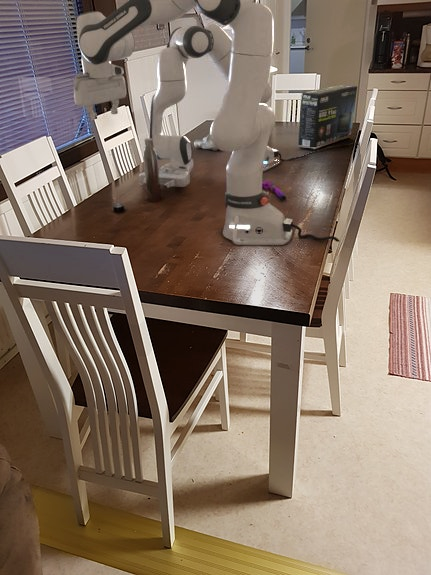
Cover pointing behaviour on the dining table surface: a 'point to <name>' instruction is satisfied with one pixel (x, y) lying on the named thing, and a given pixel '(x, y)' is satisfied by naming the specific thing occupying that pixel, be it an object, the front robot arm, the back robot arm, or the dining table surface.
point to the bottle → (151, 171)
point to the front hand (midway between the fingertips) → (104, 116)
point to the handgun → (273, 189)
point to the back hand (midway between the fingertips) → (155, 184)
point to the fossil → (205, 143)
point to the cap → (118, 208)
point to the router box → (326, 115)
